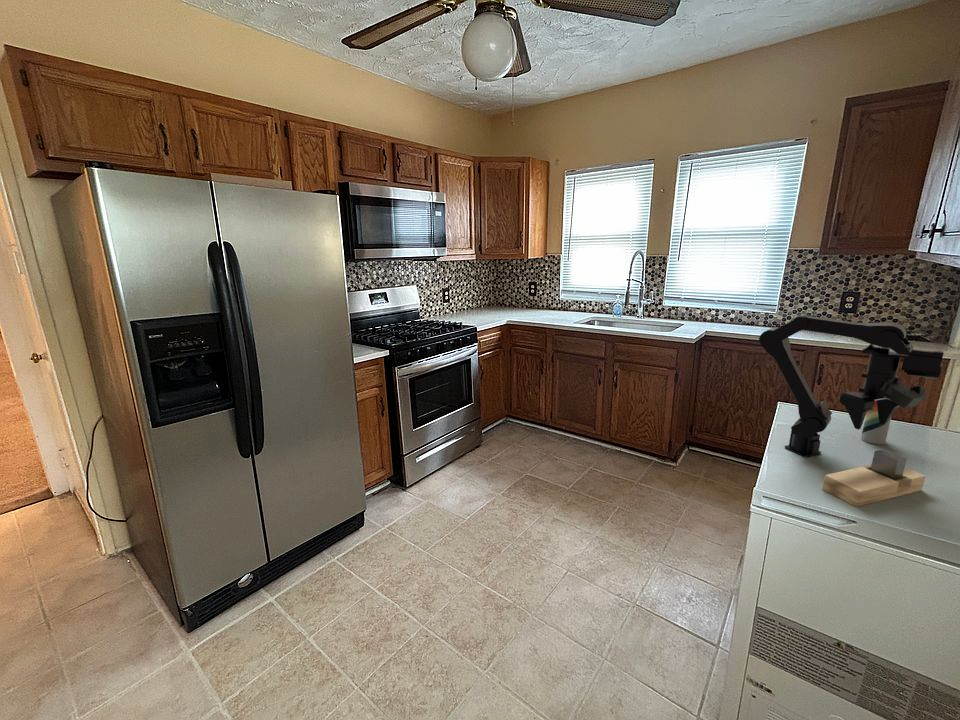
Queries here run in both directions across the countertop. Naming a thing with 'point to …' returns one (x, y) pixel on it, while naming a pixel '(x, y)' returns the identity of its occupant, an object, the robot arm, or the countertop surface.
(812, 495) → the countertop surface
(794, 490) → the countertop surface
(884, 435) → the lotion bottle
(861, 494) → the slotted wooden block
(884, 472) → the grey gripped block
